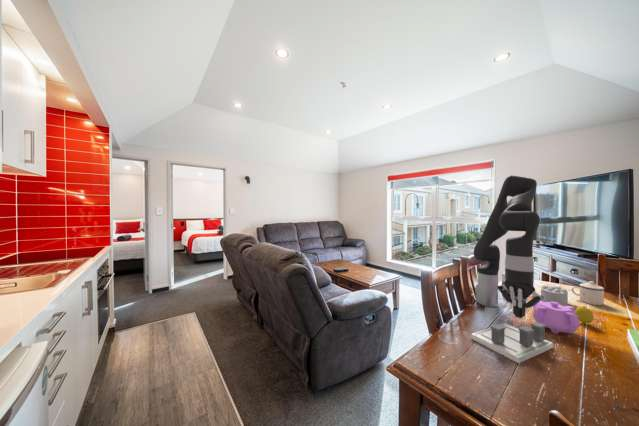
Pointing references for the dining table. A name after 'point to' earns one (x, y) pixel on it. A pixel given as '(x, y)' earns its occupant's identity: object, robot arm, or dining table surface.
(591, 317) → the lemon
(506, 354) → the panel
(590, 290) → the teacup with lid
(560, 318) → the purple rounded body
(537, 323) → the handle
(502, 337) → the grey upright block
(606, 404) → the dining table surface
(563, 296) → the lumpy-topped squat cylinder
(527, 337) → the handle middle
